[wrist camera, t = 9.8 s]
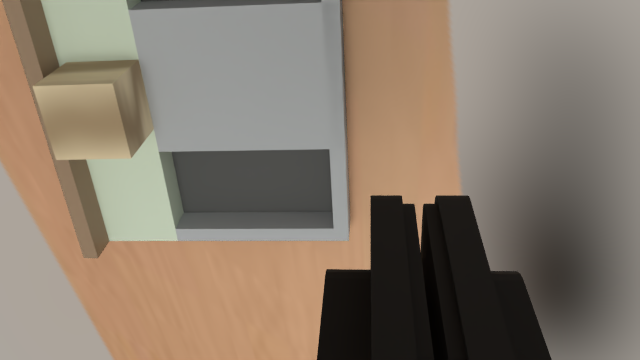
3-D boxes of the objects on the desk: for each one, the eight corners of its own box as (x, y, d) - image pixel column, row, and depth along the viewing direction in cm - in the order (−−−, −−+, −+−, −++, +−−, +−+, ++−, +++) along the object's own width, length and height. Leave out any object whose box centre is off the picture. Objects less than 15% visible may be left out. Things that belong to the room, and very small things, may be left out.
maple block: (65, 62, 35) (32, 86, 31) (138, 59, 35) (112, 83, 31) (85, 130, 37) (56, 160, 34) (153, 128, 37) (131, 158, 33)
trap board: (12, -125, 32) (-37, -121, 28) (336, -145, 31) (331, -144, 27) (109, 221, 44) (84, 258, 40) (350, 220, 42) (347, 258, 38)
